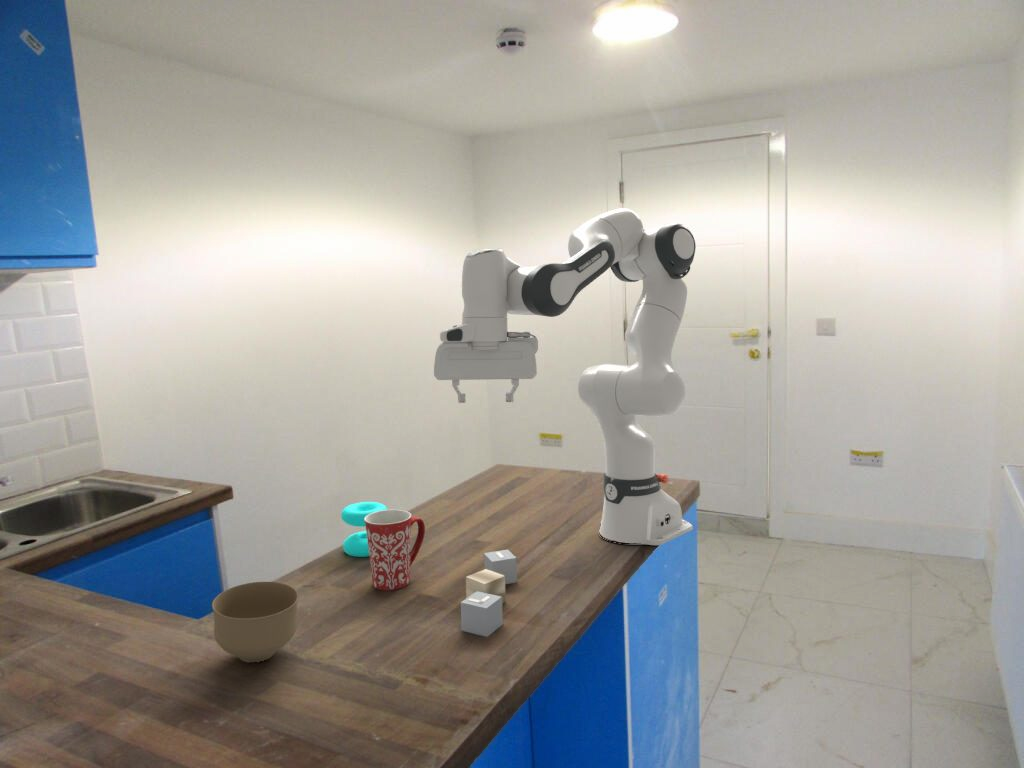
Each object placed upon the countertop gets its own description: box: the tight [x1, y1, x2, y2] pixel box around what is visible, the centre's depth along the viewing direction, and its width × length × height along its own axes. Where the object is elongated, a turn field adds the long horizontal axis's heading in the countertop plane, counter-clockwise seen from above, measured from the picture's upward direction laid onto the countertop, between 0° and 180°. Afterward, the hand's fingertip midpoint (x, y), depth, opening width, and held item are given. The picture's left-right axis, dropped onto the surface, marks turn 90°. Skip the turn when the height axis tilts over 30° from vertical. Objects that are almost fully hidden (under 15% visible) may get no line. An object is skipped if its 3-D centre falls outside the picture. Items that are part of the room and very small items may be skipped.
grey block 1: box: [460, 591, 504, 638], centre depth 121 cm, size 5×5×5 cm
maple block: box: [465, 569, 506, 604], centre depth 131 cm, size 5×5×5 cm
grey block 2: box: [483, 549, 518, 585], centre depth 141 cm, size 5×5×5 cm
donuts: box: [340, 501, 388, 558], centre depth 159 cm, size 10×10×10 cm
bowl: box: [211, 581, 300, 663], centre depth 112 cm, size 13×13×10 cm
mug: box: [364, 509, 426, 591], centre depth 141 cm, size 13×9×14 cm
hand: (485, 402), depth 143 cm, fingers open, 8 cm apart
